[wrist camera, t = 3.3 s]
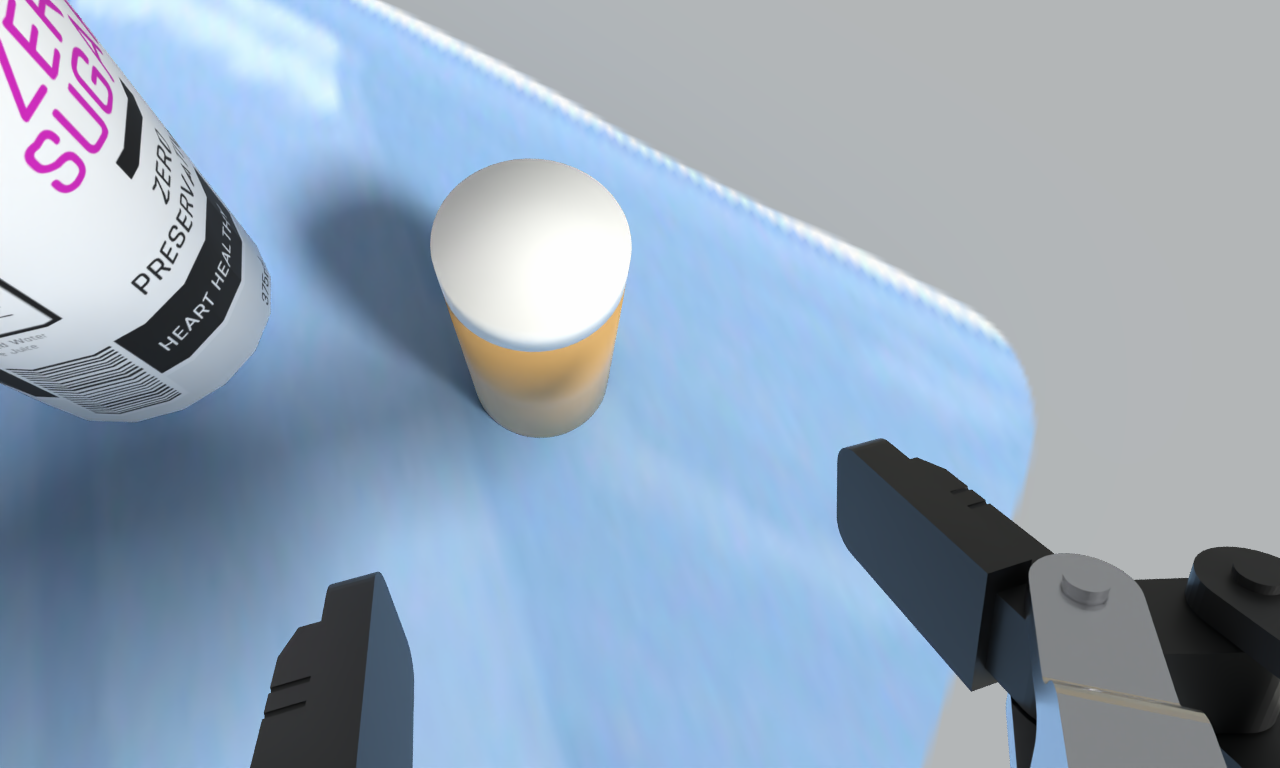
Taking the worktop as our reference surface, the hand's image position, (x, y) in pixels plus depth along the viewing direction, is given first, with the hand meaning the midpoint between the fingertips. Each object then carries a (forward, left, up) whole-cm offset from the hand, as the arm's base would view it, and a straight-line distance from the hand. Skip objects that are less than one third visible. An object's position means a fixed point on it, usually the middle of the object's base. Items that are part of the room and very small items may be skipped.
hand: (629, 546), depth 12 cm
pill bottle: (-5, +6, -12) cm, 14 cm away
